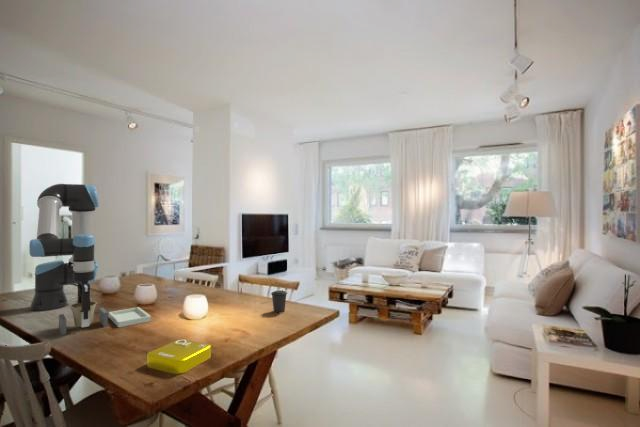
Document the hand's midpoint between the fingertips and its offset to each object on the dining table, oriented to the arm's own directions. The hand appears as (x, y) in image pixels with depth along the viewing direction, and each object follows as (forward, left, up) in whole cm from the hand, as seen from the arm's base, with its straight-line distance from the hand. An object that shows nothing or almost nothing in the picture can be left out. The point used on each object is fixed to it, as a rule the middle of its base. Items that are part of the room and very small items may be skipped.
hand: (83, 323), depth 146 cm
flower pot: (0, 0, -1) cm, 1 cm away
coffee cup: (+36, +76, -2) cm, 84 cm away
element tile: (+61, +18, -2) cm, 64 cm away
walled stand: (0, 0, -2) cm, 2 cm away
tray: (0, +17, -2) cm, 18 cm away
